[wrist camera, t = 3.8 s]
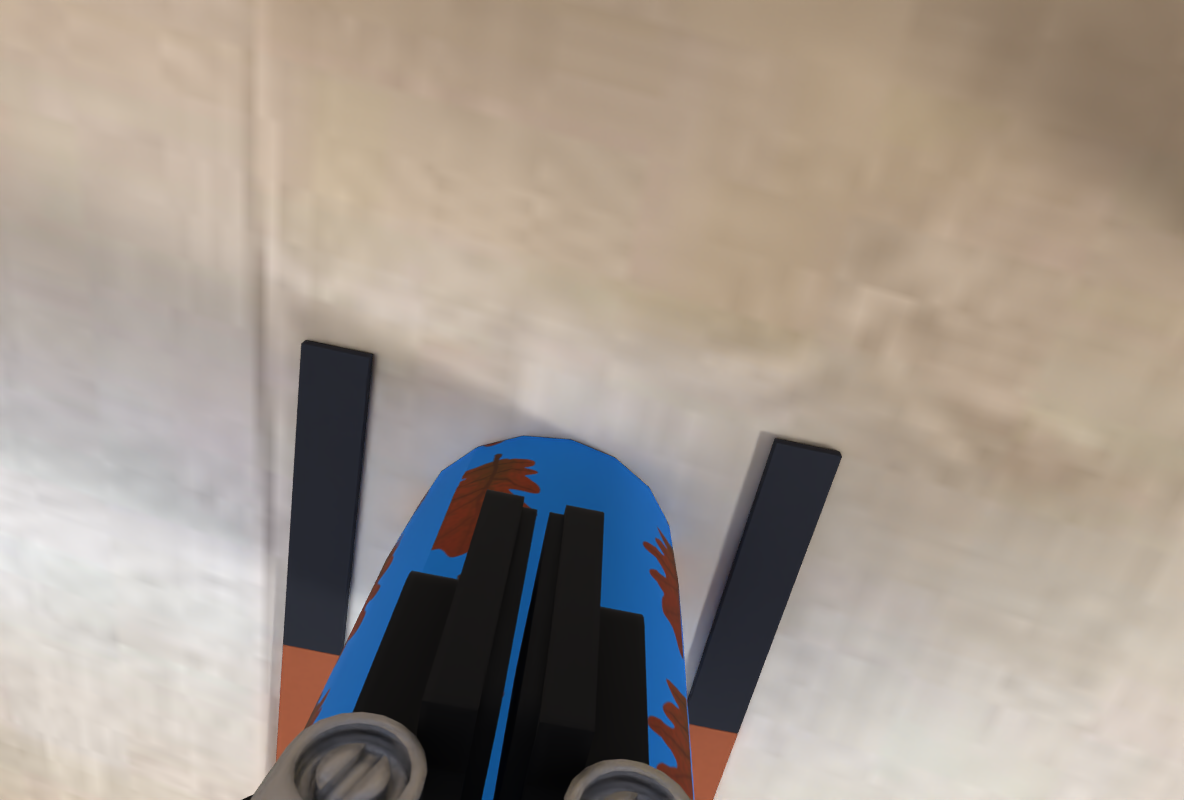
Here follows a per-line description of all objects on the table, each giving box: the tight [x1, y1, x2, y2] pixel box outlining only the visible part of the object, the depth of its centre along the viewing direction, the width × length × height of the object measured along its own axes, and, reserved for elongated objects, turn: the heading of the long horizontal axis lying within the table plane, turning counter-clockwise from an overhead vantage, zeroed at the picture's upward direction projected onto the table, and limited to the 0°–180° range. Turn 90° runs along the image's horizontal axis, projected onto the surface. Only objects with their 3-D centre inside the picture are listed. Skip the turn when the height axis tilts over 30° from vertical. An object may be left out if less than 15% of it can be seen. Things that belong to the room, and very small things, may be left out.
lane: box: [276, 340, 842, 800], centre depth 35 cm, size 26×20×1 cm
